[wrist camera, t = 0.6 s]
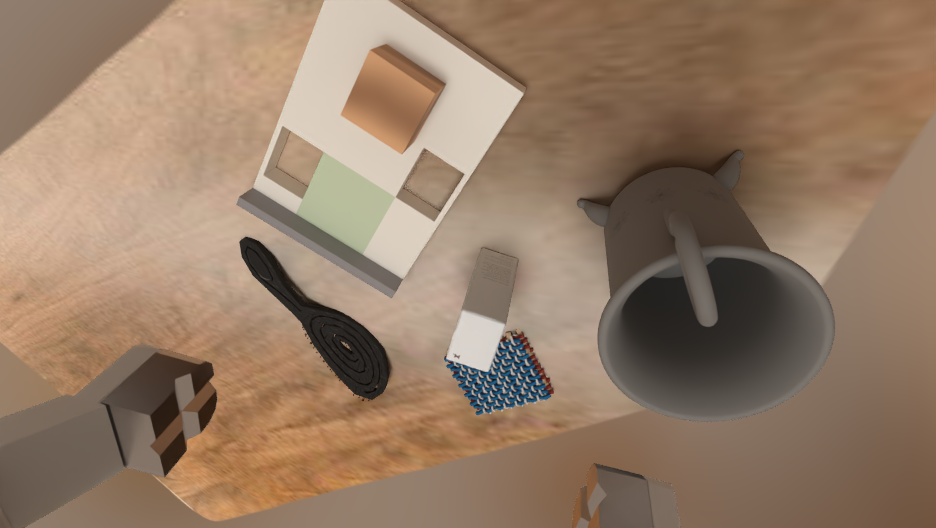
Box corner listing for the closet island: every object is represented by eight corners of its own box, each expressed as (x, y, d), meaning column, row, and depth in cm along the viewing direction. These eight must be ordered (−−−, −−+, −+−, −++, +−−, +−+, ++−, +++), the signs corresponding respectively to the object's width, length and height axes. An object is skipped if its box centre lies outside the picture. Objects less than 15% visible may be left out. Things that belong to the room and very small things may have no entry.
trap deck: (349, -34, 43) (324, -35, 39) (526, 87, 45) (521, 99, 41) (262, 186, 55) (236, 204, 51) (405, 273, 57) (391, 298, 53)
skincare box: (504, 302, 57) (488, 375, 46) (467, 290, 57) (443, 360, 47) (520, 257, 53) (507, 324, 43) (482, 245, 54) (459, 309, 43)
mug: (765, 270, 49) (909, 497, 28) (612, 306, 54) (636, 521, 33) (728, 81, 42) (886, 194, 21) (556, 143, 47) (539, 285, 26)
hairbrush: (252, 229, 55) (398, 391, 61) (271, 216, 58) (407, 371, 64) (210, 264, 59) (351, 413, 65) (230, 250, 62) (363, 394, 68)
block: (386, 43, 43) (369, 49, 39) (446, 84, 44) (435, 93, 40) (357, 104, 46) (340, 114, 43) (414, 141, 47) (401, 154, 43)
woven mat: (557, 389, 62) (557, 401, 60) (480, 407, 66) (478, 419, 64) (523, 324, 58) (521, 334, 56) (443, 347, 62) (439, 358, 60)
